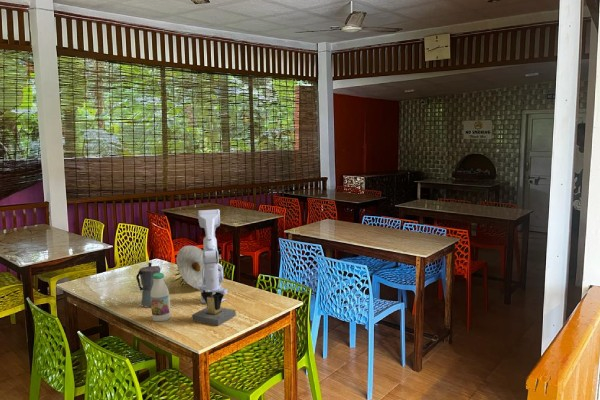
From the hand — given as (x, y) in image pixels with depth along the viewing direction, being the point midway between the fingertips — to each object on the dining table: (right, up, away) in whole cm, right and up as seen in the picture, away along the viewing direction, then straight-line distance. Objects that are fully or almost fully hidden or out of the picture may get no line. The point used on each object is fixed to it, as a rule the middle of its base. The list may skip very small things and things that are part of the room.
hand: (213, 308), depth 202 cm
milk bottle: (-23, -5, +2) cm, 24 cm away
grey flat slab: (0, -4, +1) cm, 4 cm away
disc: (-19, +1, +45) cm, 49 cm away
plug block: (0, -3, +1) cm, 3 cm away
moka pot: (-33, -3, +19) cm, 38 cm away
